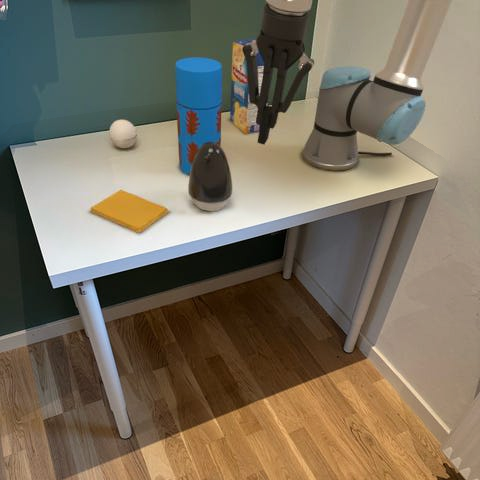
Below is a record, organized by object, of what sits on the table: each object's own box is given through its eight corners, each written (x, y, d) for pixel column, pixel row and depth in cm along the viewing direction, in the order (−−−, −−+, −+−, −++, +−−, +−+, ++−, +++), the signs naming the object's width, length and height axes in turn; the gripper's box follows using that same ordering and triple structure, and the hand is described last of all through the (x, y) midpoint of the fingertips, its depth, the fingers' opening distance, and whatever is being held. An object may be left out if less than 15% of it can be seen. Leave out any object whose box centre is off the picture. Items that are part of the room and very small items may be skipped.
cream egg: (118, 155, 126) (114, 128, 121) (106, 144, 131) (102, 118, 125) (151, 147, 131) (149, 121, 126) (139, 137, 135) (136, 111, 130)
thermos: (212, 180, 119) (213, 75, 102) (173, 173, 121) (167, 68, 103) (225, 162, 127) (228, 61, 109) (187, 155, 129) (185, 54, 111)
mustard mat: (167, 212, 108) (167, 208, 107) (139, 233, 102) (138, 228, 101) (121, 193, 113) (120, 189, 112) (91, 212, 106) (90, 207, 106)
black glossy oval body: (183, 213, 108) (181, 150, 97) (194, 191, 115) (193, 130, 104) (226, 220, 107) (229, 156, 96) (235, 197, 114) (238, 136, 104)
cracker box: (245, 133, 140) (250, 52, 125) (229, 119, 147) (232, 40, 132) (265, 130, 143) (273, 50, 127) (249, 116, 149) (254, 39, 134)
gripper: (242, 3, 74) (226, 140, 93) (320, 25, 73) (288, 159, 91) (256, -10, 79) (238, 123, 97) (330, 10, 78) (297, 141, 96)
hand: (262, 140), depth 94 cm, fingers closed
